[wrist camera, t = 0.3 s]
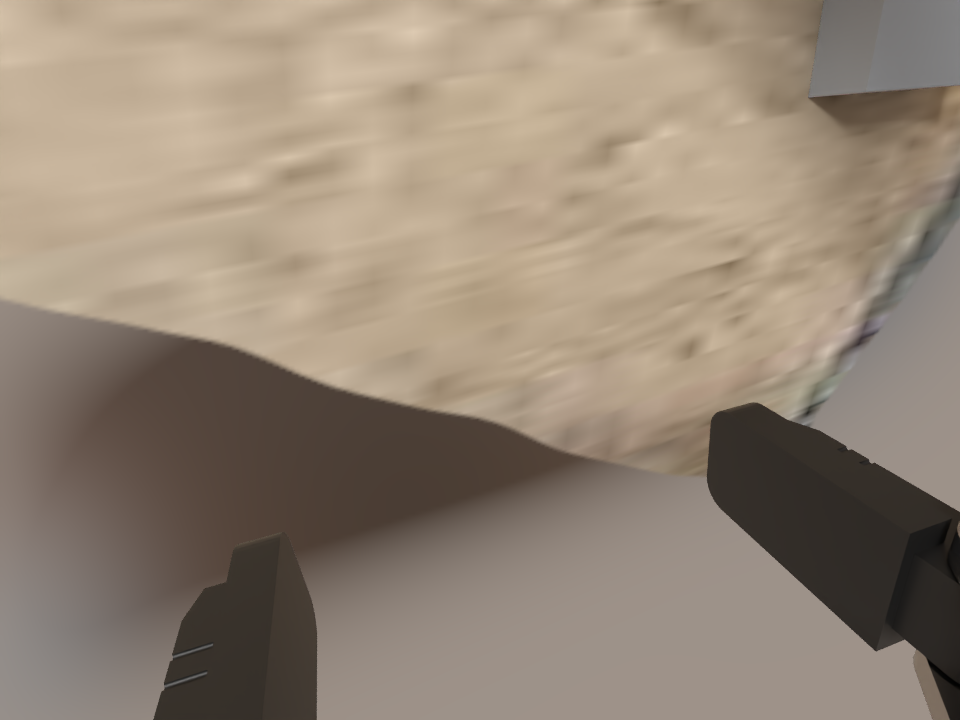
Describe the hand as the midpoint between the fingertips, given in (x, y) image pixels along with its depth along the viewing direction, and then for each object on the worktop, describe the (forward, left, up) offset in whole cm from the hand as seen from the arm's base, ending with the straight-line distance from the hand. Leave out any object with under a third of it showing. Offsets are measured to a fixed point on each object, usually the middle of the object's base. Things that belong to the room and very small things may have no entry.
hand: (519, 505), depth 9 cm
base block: (-12, +39, -29) cm, 50 cm away
